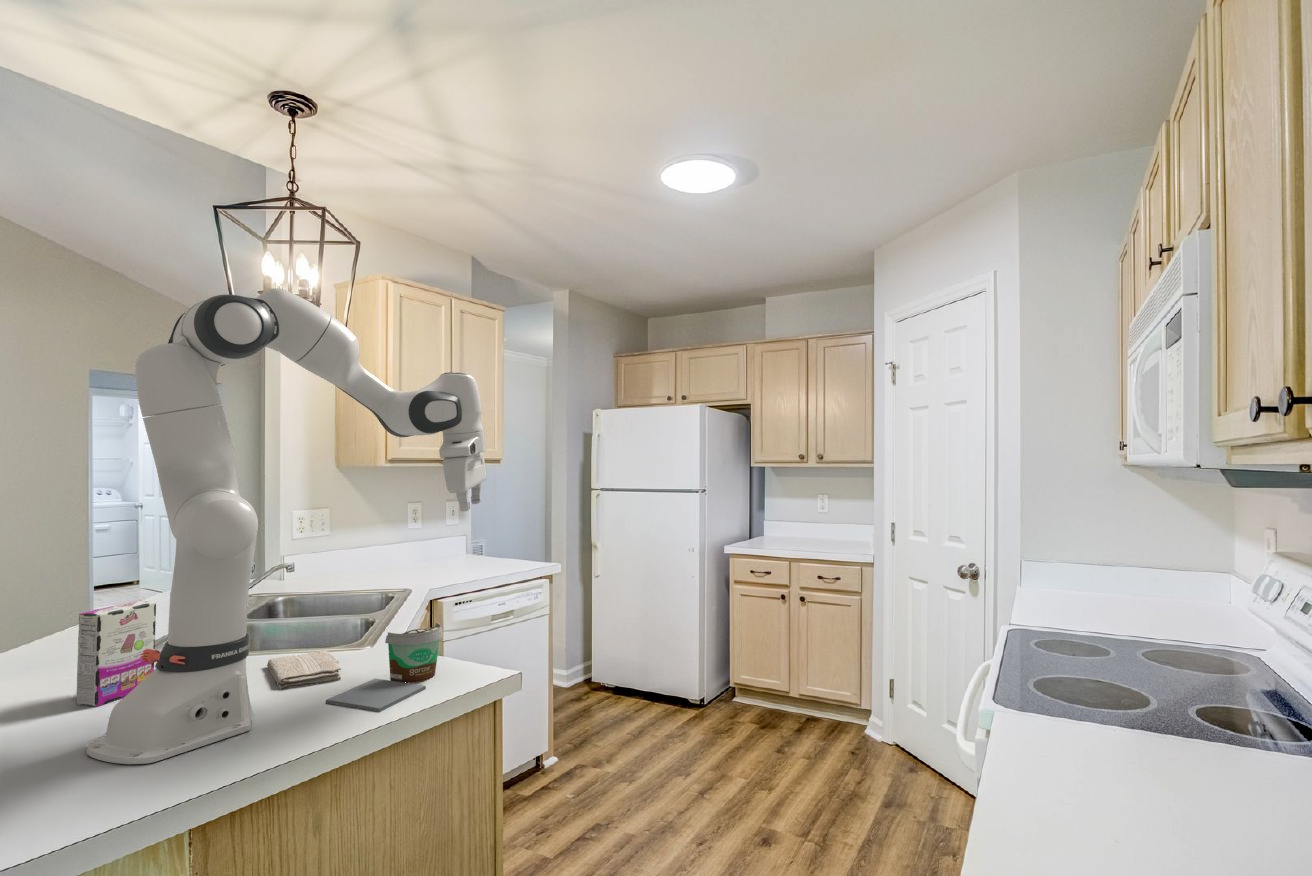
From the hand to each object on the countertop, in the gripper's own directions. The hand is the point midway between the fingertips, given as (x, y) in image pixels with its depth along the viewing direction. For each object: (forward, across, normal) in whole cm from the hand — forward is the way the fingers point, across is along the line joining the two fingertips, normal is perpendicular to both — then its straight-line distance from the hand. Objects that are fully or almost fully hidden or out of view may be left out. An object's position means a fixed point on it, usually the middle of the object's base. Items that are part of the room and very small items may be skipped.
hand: (470, 507), depth 150 cm
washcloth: (+31, +12, -35) cm, 48 cm away
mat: (+31, +25, -15) cm, 42 cm away
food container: (+33, +14, -10) cm, 37 cm away
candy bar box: (+26, +27, -62) cm, 72 cm away
